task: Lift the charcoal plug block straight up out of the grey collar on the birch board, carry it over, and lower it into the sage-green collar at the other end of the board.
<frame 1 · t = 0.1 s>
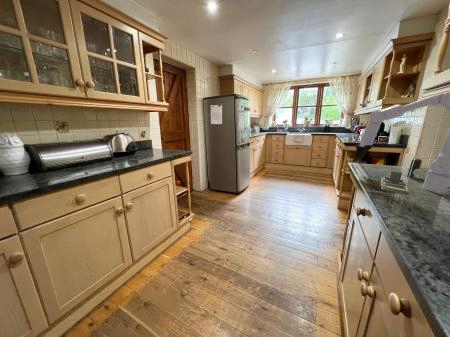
hand: (359, 157, 108), 11 cm above the worktop, tool pointing down, fingers open, 7 cm apart
plug: (393, 182, 96), point 1 cm above the worktop, touching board
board: (393, 187, 92), on the worktop
battery charger: (411, 178, 108), on the worktop
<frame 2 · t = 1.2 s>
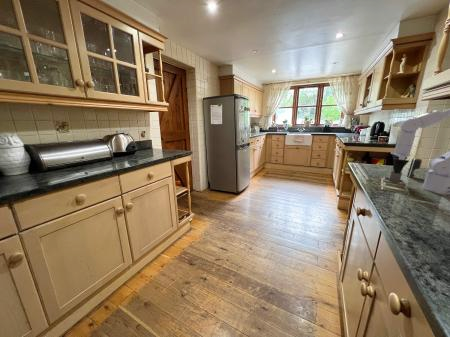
hand: (396, 171, 95), 7 cm above the worktop, tool pointing down, fingers open, 7 cm apart
nothing on the worktop moved.
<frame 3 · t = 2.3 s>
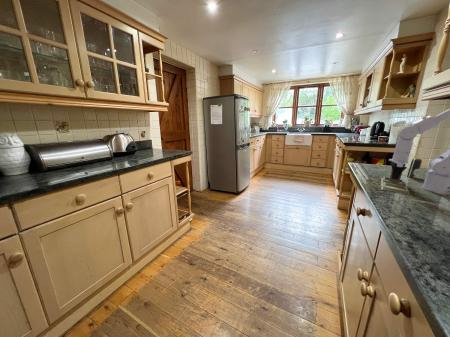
hand: (394, 178, 96), 3 cm above the worktop, tool pointing down, fingers closed on plug, 4 cm apart
plug: (393, 182, 96), point 1 cm above the worktop, touching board, gripper
everything else where it was.
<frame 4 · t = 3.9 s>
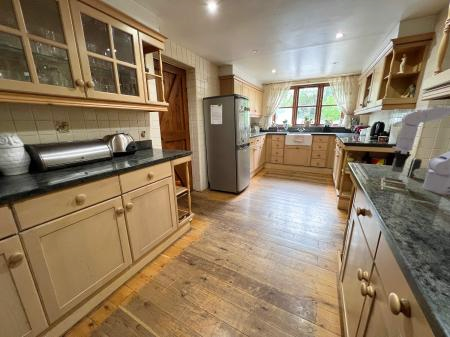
hand: (398, 166, 93), 10 cm above the worktop, tool pointing down, fingers closed on plug, 4 cm apart
plug: (396, 171, 94), point 7 cm above the worktop, touching gripper
everything else where it was.
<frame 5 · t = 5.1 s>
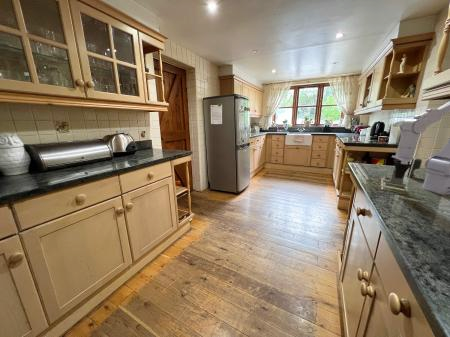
hand: (398, 176, 86), 7 cm above the worktop, tool pointing down, fingers closed on plug, 4 cm apart
plug: (395, 182, 87), point 4 cm above the worktop, touching gripper
everything else where it was.
when the fingers open (4 cm above the worktop, at t = 6.0 s): plug stays where it is, resting on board.
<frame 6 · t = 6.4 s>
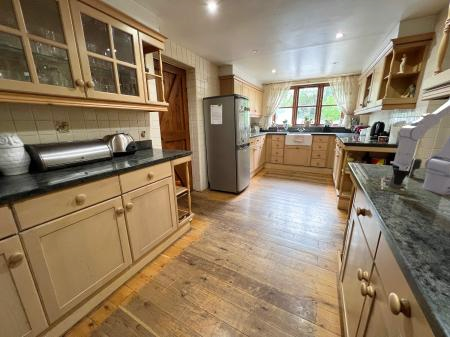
hand: (396, 182, 86), 4 cm above the worktop, tool pointing down, fingers open, 7 cm apart
plug: (393, 188, 88), point 1 cm above the worktop, touching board
everything else where it was.
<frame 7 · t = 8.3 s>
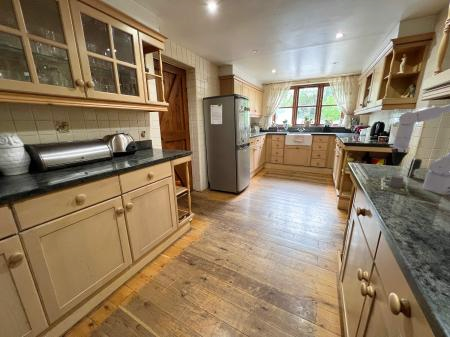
hand: (395, 163, 98), 10 cm above the worktop, tool pointing down, fingers open, 7 cm apart
nothing on the worktop moved.
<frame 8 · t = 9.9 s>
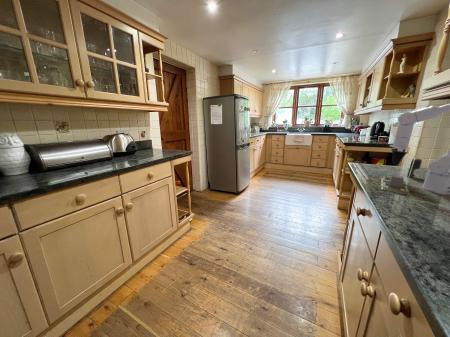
hand: (395, 163, 99), 10 cm above the worktop, tool pointing down, fingers open, 7 cm apart
nothing on the worktop moved.
at the end: plug 0.2 cm from the target spot on the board, point 1.0 cm above the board's base; plug tilted 0°; the gripper is holding nothing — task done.
